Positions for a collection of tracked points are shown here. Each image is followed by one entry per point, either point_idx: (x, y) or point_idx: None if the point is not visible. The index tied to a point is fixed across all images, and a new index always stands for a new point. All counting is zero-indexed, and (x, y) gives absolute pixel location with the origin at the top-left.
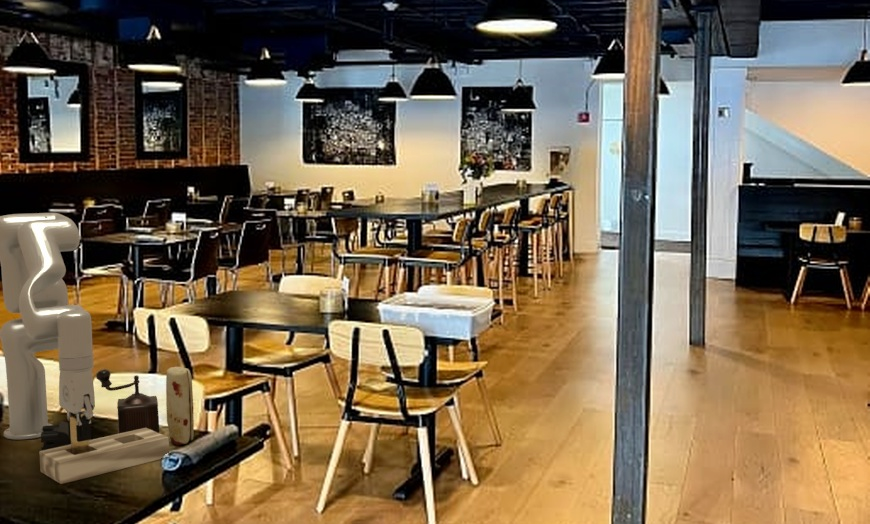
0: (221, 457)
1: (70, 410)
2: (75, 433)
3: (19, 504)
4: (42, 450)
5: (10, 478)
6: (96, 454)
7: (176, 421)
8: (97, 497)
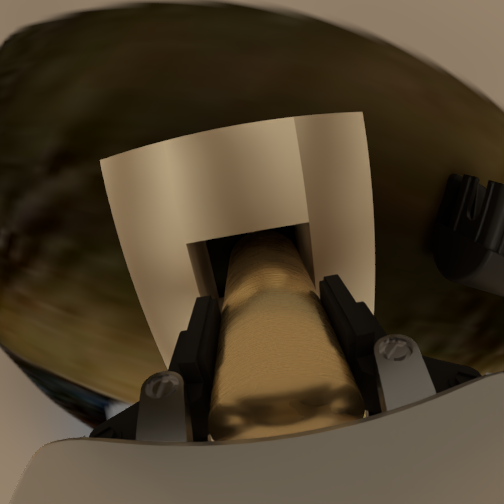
0: None
1: (132, 462)
2: (229, 316)
3: (46, 42)
4: (468, 178)
5: (315, 24)
6: (148, 323)
7: None
8: (4, 236)
